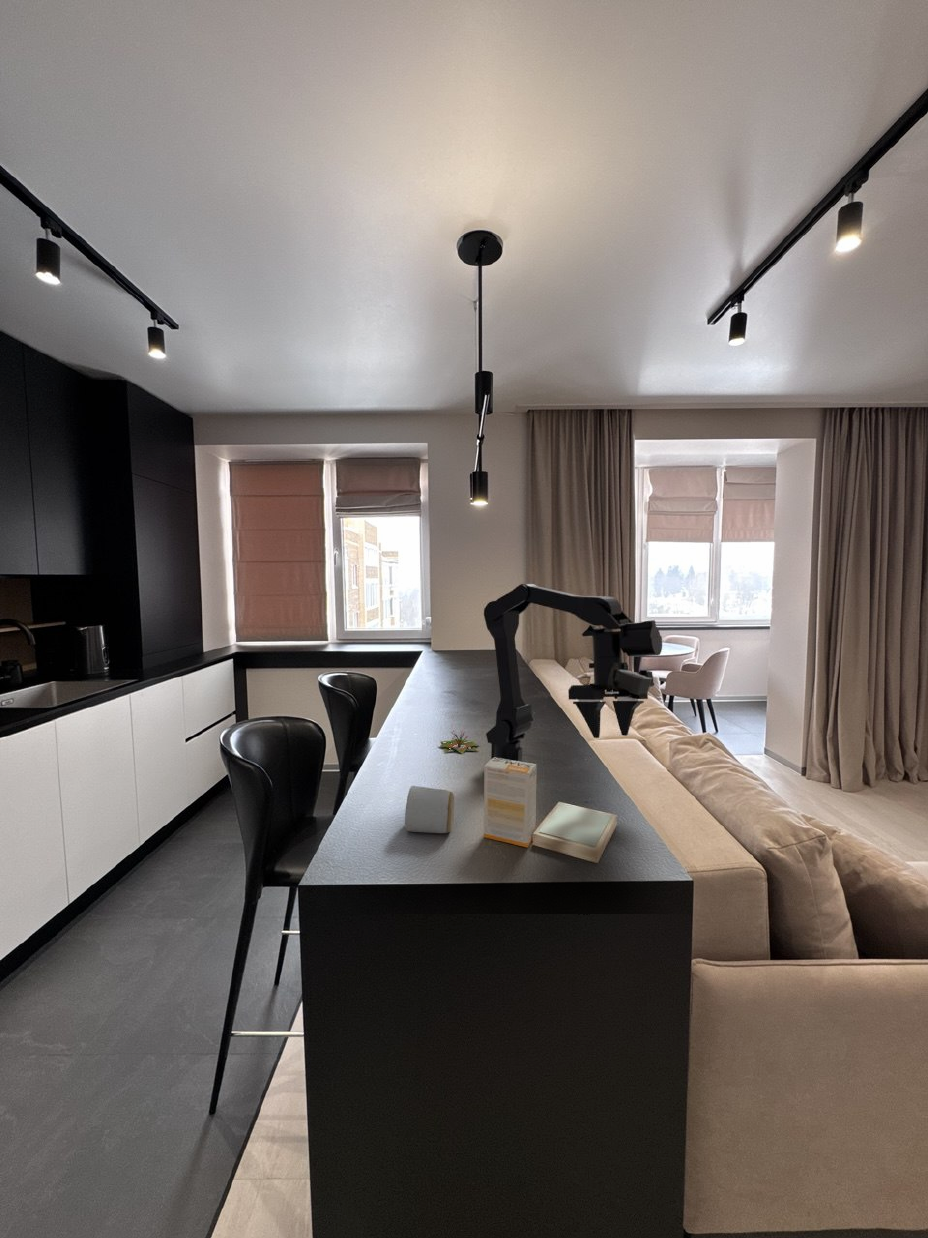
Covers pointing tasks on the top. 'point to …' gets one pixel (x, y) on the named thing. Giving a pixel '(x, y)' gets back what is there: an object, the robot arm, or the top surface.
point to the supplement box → (510, 801)
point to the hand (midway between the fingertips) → (611, 736)
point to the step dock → (576, 831)
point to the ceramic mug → (429, 810)
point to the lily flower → (459, 742)
